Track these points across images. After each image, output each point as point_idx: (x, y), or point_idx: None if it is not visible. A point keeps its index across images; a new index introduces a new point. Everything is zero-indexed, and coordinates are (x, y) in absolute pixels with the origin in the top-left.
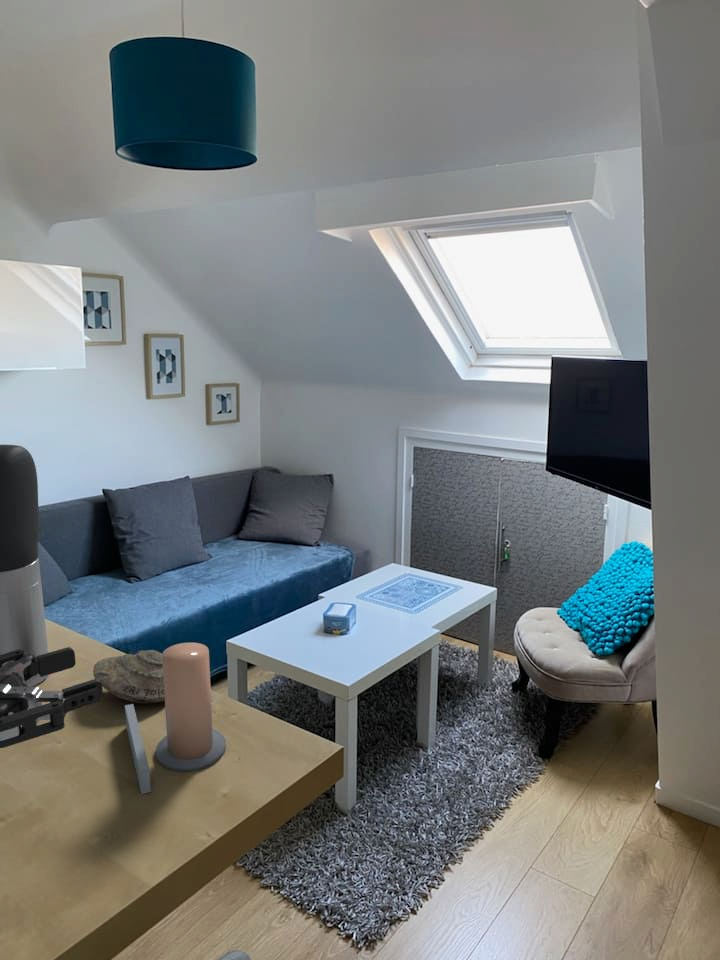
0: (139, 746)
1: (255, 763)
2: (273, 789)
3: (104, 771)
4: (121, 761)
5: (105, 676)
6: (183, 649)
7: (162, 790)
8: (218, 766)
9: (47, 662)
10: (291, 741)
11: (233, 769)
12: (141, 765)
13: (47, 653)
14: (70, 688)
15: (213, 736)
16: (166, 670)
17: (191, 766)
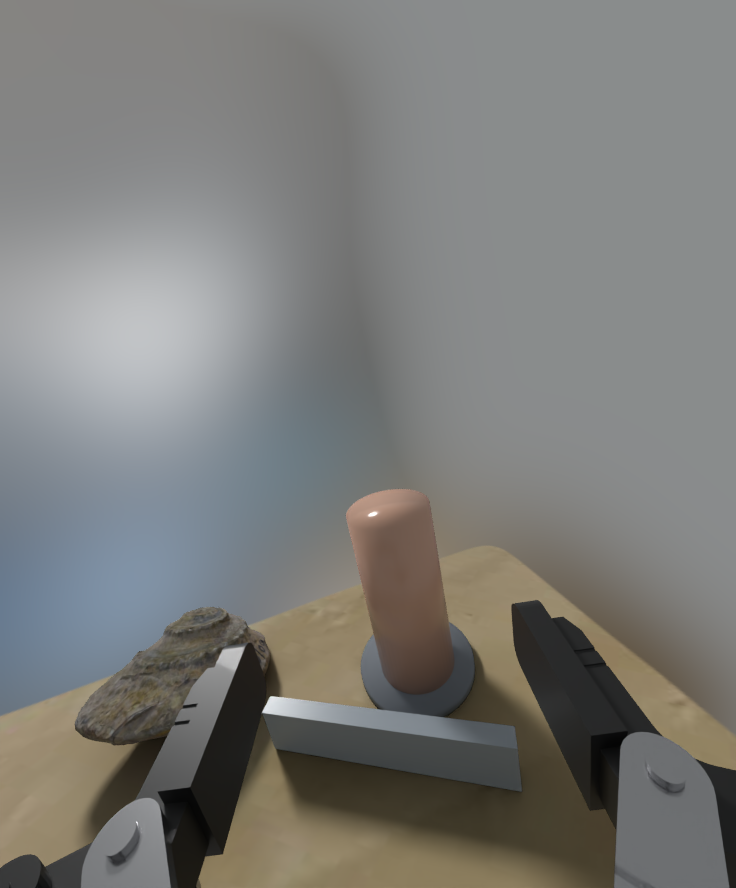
0: (426, 724)
1: (489, 602)
2: (557, 598)
3: (396, 857)
4: (380, 798)
5: (150, 714)
6: (373, 508)
7: (518, 743)
8: (478, 641)
9: (218, 763)
10: (458, 563)
11: (493, 626)
12: (502, 739)
13: (188, 732)
14: (586, 693)
15: None
16: (400, 546)
17: (473, 672)
